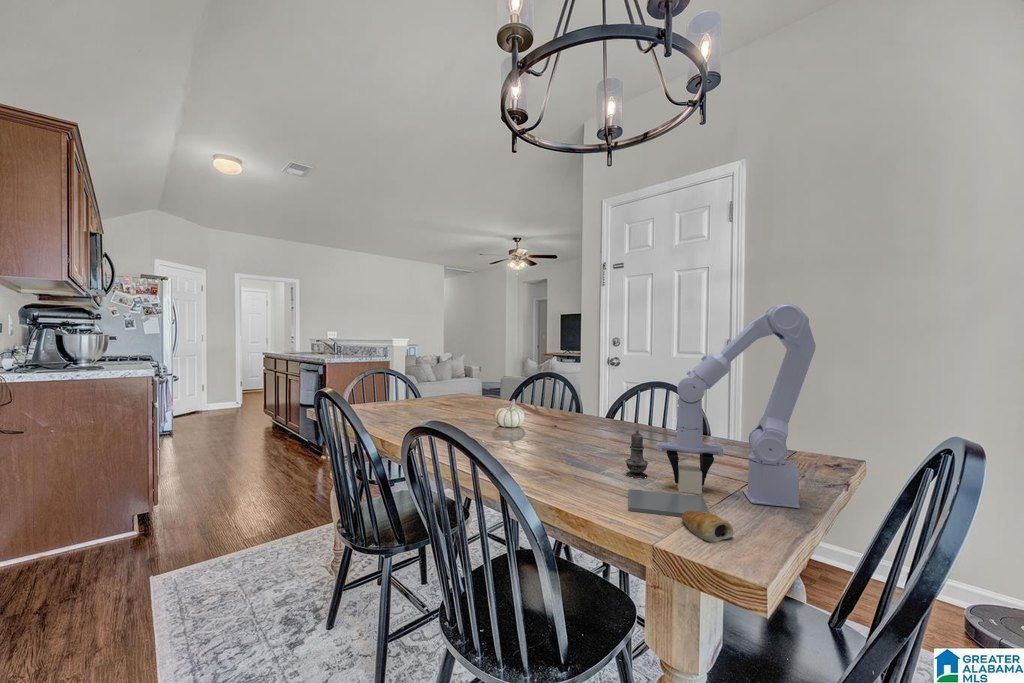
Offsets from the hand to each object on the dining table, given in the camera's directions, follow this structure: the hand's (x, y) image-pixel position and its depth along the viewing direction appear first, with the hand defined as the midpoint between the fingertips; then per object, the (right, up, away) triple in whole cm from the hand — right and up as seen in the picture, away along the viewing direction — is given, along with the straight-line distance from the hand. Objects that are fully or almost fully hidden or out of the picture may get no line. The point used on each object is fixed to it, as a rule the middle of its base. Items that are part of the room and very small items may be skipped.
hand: (688, 483), depth 102 cm
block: (0, -1, 0) cm, 1 cm away
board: (-9, -2, -10) cm, 13 cm away
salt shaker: (-10, -1, +10) cm, 14 cm away
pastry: (-6, -2, -22) cm, 23 cm away
